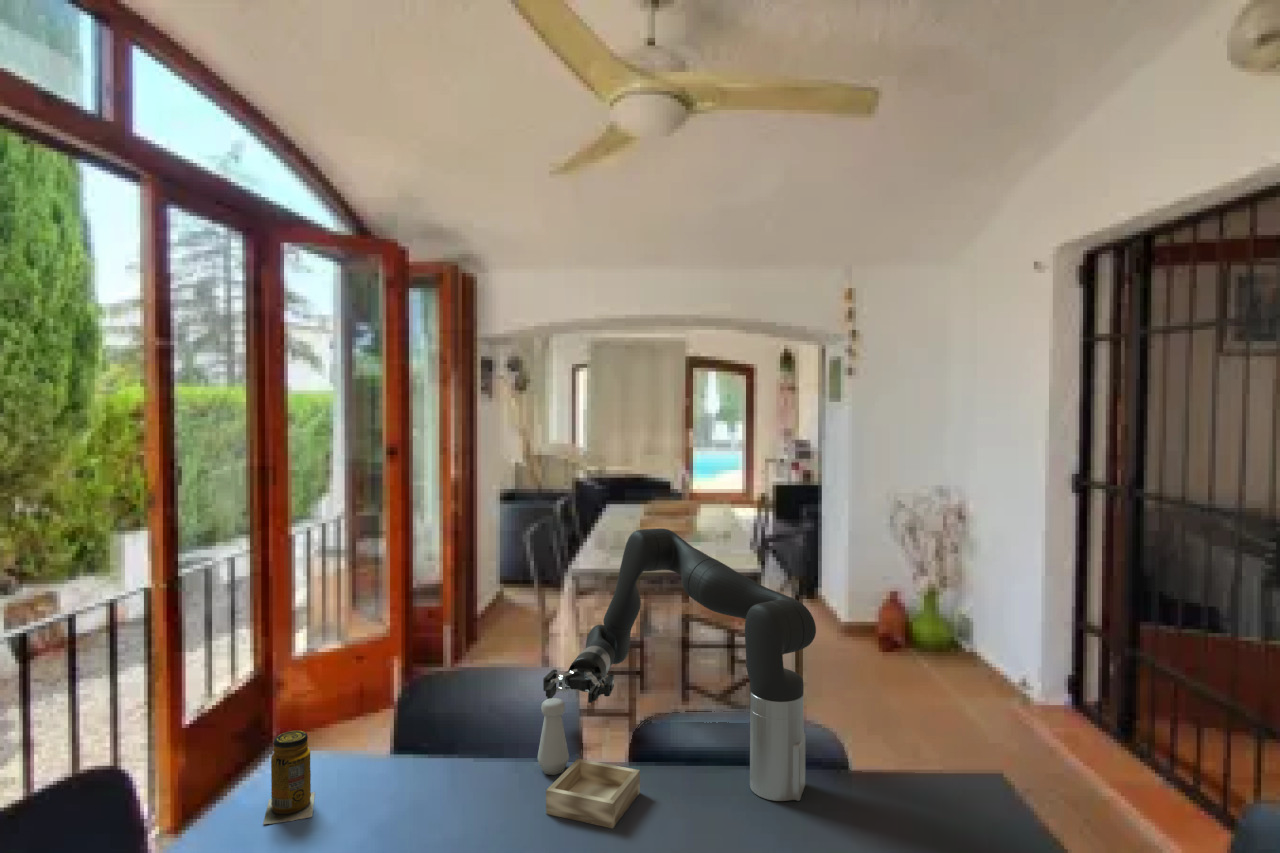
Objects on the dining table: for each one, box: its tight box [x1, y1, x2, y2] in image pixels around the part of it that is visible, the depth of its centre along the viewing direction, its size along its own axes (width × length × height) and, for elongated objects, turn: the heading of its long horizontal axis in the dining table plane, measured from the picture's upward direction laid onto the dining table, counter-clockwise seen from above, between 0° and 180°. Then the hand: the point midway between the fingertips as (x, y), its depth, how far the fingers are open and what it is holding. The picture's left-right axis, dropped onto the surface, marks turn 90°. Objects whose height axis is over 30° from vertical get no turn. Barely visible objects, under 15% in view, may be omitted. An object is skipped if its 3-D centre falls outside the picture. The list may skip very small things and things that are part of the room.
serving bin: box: [545, 758, 641, 829], centre depth 129 cm, size 12×12×4 cm
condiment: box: [262, 730, 316, 825], centre depth 127 cm, size 7×8×12 cm
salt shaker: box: [537, 697, 570, 776], centre depth 141 cm, size 6×6×13 cm
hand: (569, 696), depth 152 cm, fingers open, 8 cm apart
